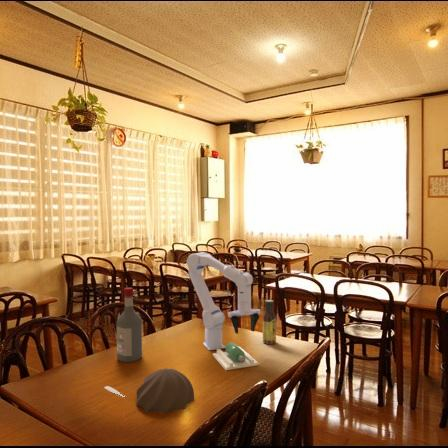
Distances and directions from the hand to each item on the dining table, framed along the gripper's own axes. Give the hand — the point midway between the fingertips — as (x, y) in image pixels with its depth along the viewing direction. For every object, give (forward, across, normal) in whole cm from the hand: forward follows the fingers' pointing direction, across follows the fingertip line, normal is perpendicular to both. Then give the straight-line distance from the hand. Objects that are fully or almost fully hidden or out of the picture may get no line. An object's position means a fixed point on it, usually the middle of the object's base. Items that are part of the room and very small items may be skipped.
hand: (244, 331), depth 169 cm
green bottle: (+8, -7, -8) cm, 14 cm away
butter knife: (+10, -52, -24) cm, 58 cm away
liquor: (+10, -48, +12) cm, 50 cm away
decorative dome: (+10, -40, -28) cm, 50 cm away
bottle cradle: (+9, -7, -6) cm, 13 cm away
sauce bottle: (+10, +16, +8) cm, 20 cm away
